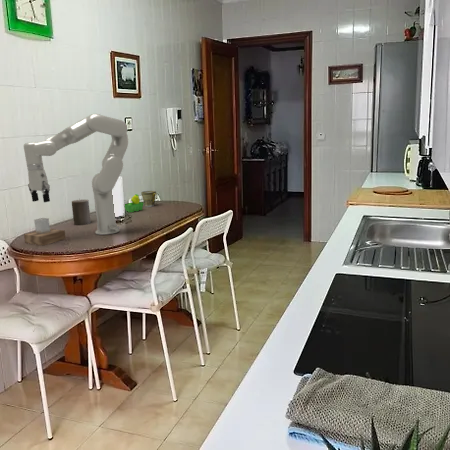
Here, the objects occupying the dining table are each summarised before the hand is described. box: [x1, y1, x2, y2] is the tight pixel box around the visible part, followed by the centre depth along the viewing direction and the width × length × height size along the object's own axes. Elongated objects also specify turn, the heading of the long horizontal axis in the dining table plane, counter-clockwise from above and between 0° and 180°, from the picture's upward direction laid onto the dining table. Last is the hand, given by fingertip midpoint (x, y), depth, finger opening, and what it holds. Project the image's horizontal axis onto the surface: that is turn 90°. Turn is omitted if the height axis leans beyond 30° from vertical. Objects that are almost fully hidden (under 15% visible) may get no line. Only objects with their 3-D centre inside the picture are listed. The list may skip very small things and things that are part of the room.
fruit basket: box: [124, 193, 144, 213], centre depth 321 cm, size 11×9×11 cm
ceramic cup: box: [140, 190, 158, 208], centre depth 335 cm, size 13×10×10 cm
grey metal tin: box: [33, 217, 51, 234], centre depth 251 cm, size 5×5×7 cm
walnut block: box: [23, 228, 67, 246], centre depth 253 cm, size 14×14×5 cm
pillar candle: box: [71, 198, 92, 226], centre depth 291 cm, size 10×10×15 cm
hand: (41, 201), depth 249 cm, fingers open, 9 cm apart
